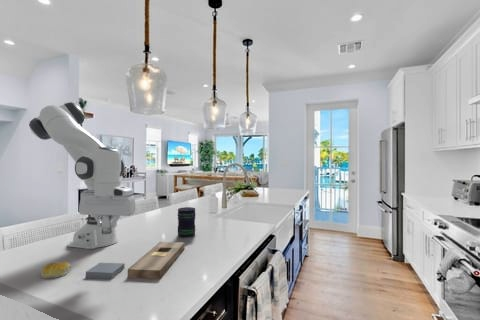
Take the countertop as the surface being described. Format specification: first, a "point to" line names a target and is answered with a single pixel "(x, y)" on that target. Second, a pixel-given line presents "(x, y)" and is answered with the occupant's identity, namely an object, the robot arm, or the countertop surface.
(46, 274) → the bread roll
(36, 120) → the robot arm
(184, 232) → the storage jar
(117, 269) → the plate
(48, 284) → the countertop surface
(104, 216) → the metal peg
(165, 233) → the countertop surface
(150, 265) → the walnut rail
